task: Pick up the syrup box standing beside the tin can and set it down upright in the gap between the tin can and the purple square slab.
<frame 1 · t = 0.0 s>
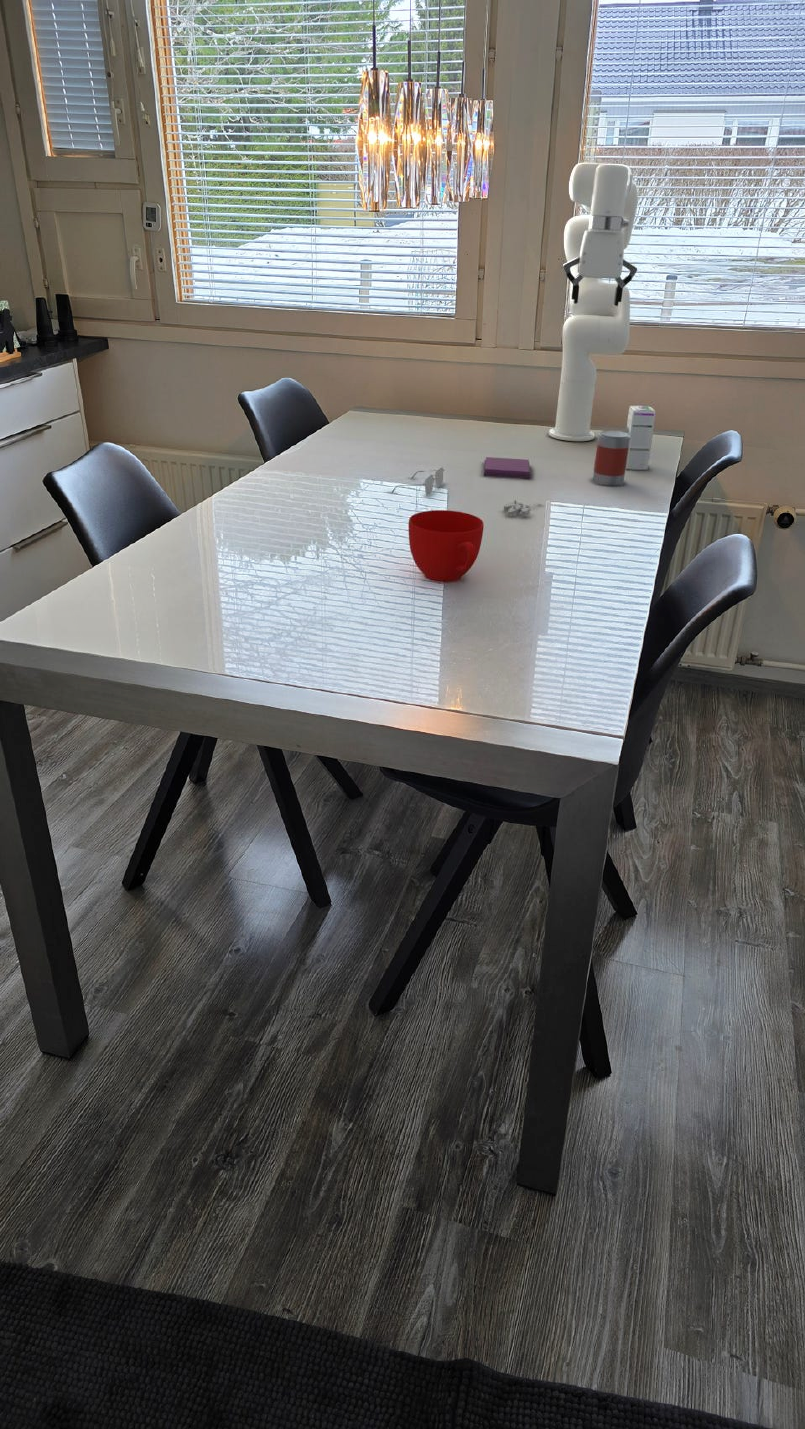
hand: (595, 304, 240), 37 cm above the table, tool pointing down, fingers open, 9 cm apart
ceramic cup: (447, 581, 175), on the table
purple square slab: (506, 471, 243), on the table
eyeglasses: (418, 488, 226), on the table
syrup box: (634, 467, 251), on the table
tin can: (607, 481, 238), on the table
game controller: (525, 512, 213), on the table
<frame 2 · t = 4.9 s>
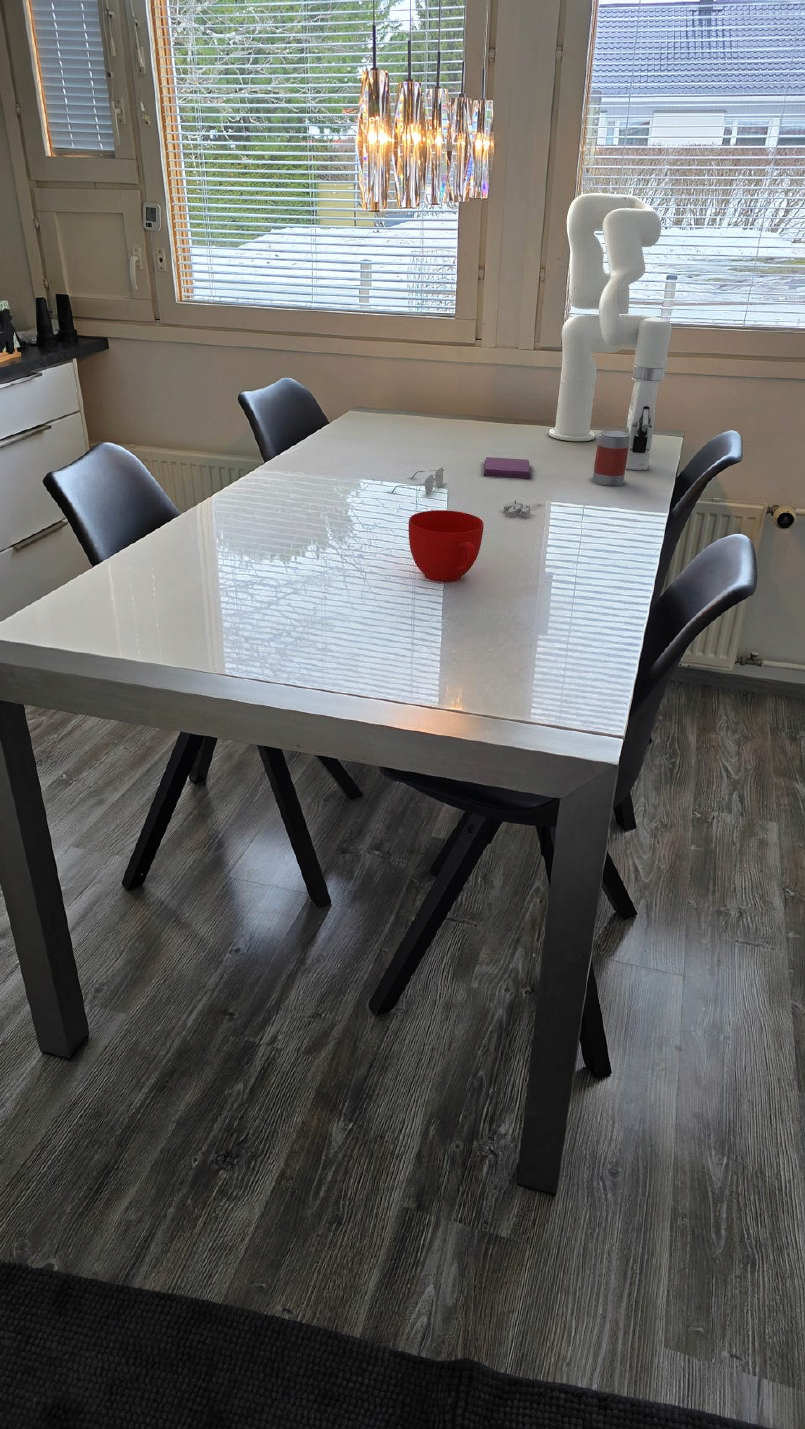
hand: (637, 448, 249), 5 cm above the table, tool pointing down, fingers closed on syrup box, 6 cm apart
syrup box: (634, 467, 251), on the table, touching gripper
everything else where it was.
when the fingers open (5 cm above the table, at t = 14.1 s): syrup box stays where it is, on the table.
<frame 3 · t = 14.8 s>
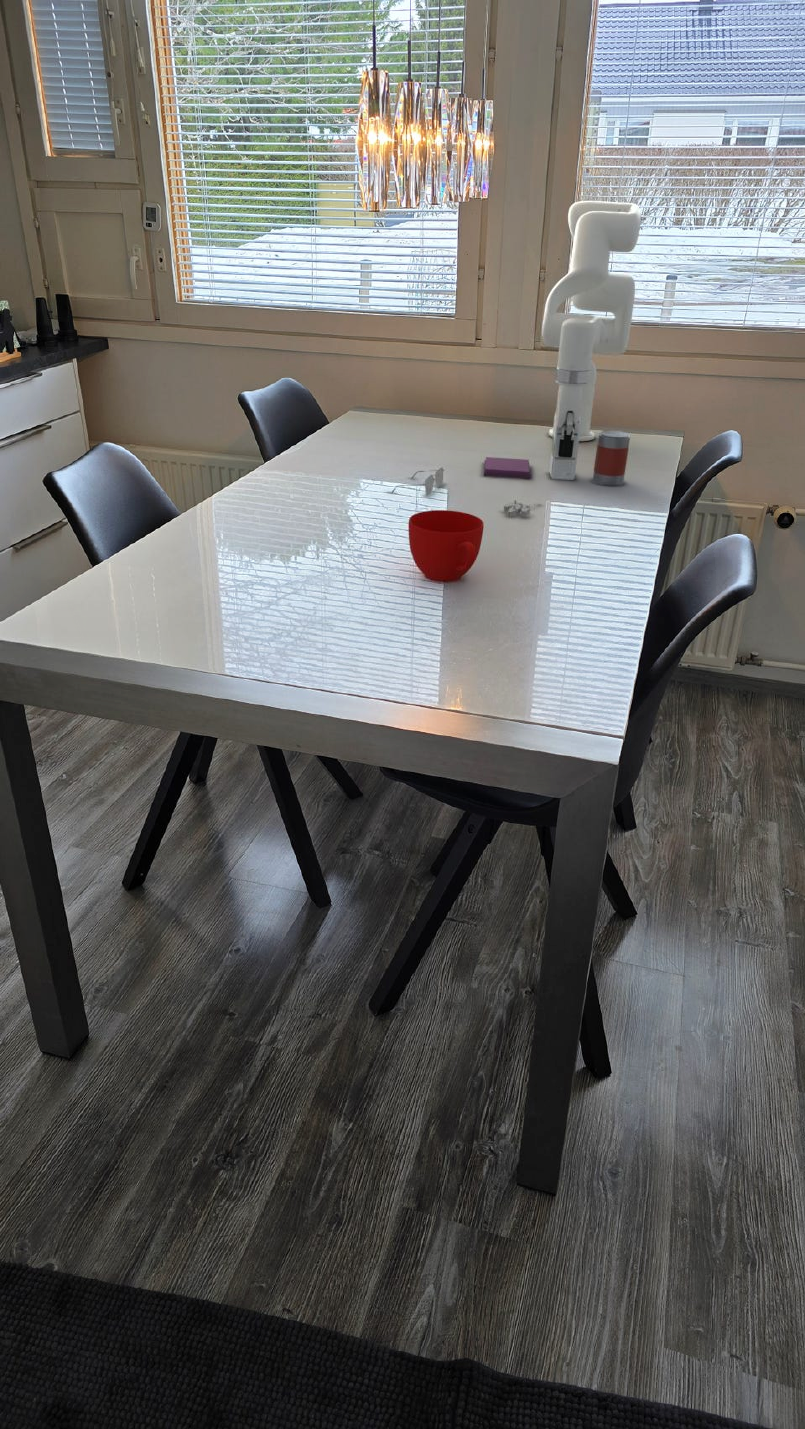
hand: (563, 451, 237), 6 cm above the table, tool pointing down, fingers open, 9 cm apart
syrup box: (561, 477, 240), on the table
everything else where it was.
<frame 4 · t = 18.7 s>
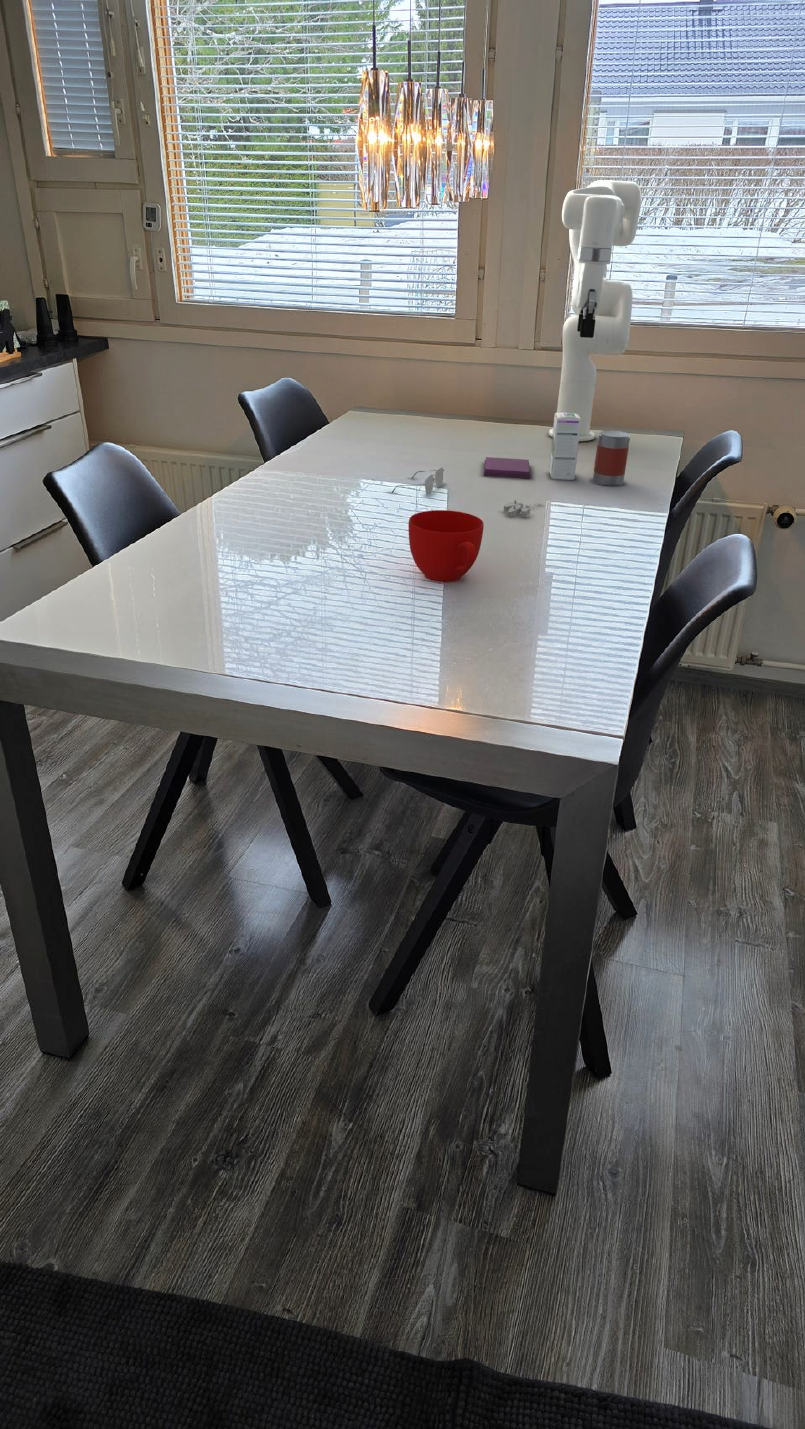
hand: (585, 334, 240), 30 cm above the table, tool pointing down, fingers open, 9 cm apart
nothing on the table moved.
at the end: syrup box inside the target area (0.4 cm from its centre), on the table; syrup box tilted 0°; syrup box moved 23.5 cm from its start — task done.
